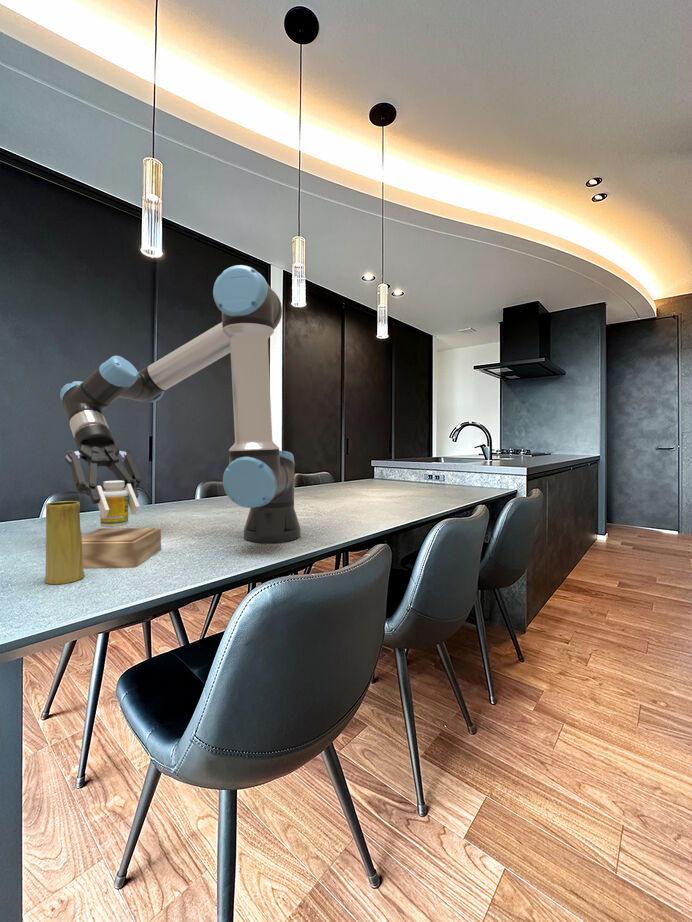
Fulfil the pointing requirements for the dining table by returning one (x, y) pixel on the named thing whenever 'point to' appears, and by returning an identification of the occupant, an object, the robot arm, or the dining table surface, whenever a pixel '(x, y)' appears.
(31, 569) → the dining table surface
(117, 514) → the supplement bottle
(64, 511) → the vase
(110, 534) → the stand
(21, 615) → the dining table surface
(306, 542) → the dining table surface
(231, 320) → the robot arm
